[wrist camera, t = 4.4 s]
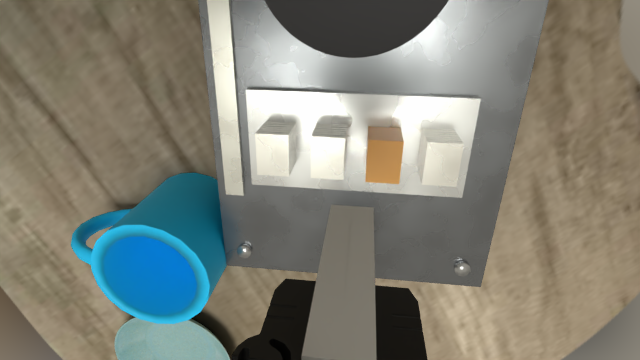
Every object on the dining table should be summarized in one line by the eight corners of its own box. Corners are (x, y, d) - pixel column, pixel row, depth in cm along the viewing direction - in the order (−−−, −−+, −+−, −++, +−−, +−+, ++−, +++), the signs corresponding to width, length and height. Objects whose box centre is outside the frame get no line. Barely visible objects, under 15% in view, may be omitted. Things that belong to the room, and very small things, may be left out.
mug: (245, 178, 31) (206, 232, 23) (246, 261, 34) (212, 331, 27) (103, 161, 32) (22, 209, 24) (118, 244, 35) (51, 308, 28)
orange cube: (368, 126, 22) (368, 139, 20) (400, 127, 22) (403, 141, 20) (365, 165, 23) (365, 182, 21) (396, 167, 23) (399, 184, 21)
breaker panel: (225, -41, 24) (164, -60, 17) (522, -40, 23) (594, -61, 15) (246, 229, 33) (211, 292, 26) (464, 245, 31) (493, 319, 24)
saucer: (250, 322, 38) (243, 341, 35) (223, 395, 43) (215, 415, 40) (135, 281, 37) (121, 297, 35) (121, 359, 42) (108, 378, 40)
